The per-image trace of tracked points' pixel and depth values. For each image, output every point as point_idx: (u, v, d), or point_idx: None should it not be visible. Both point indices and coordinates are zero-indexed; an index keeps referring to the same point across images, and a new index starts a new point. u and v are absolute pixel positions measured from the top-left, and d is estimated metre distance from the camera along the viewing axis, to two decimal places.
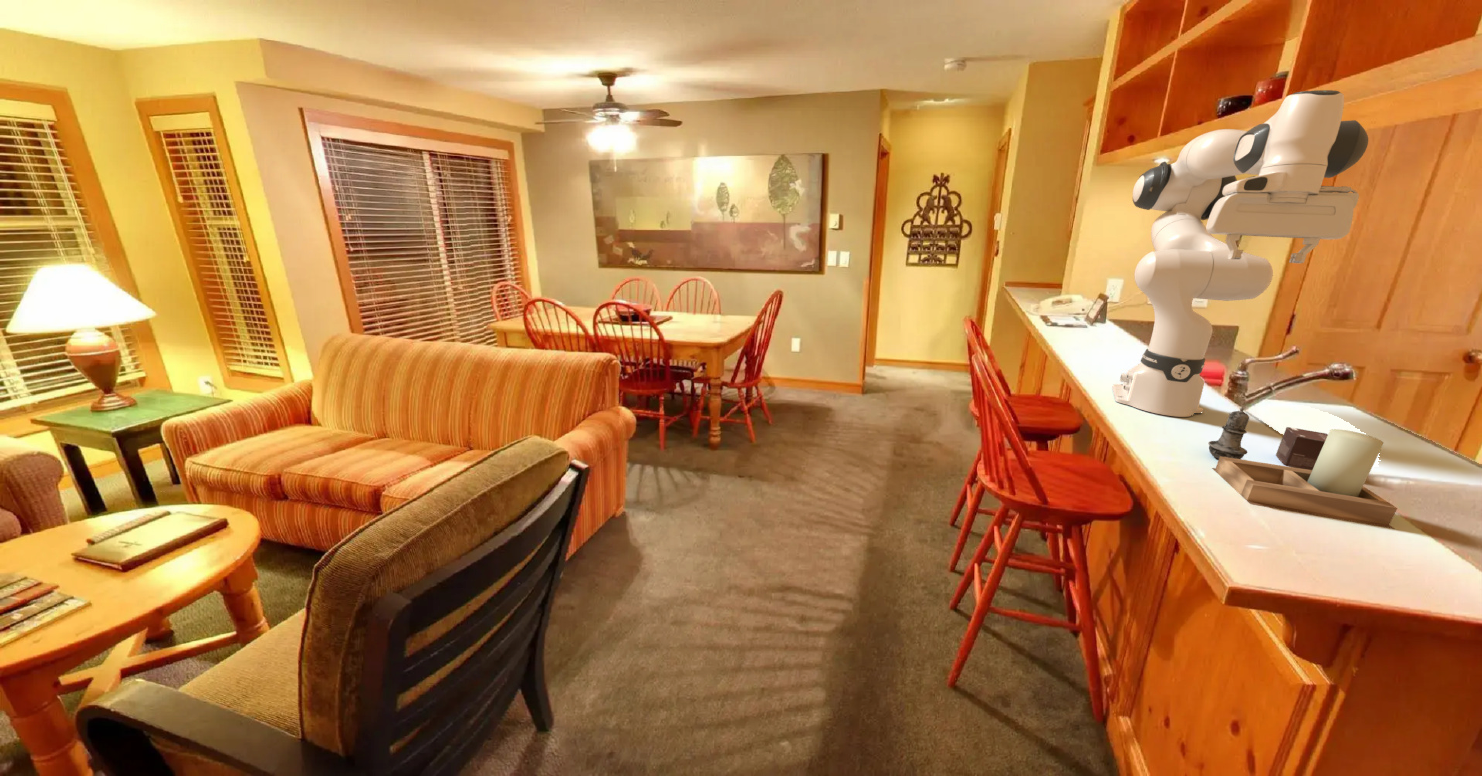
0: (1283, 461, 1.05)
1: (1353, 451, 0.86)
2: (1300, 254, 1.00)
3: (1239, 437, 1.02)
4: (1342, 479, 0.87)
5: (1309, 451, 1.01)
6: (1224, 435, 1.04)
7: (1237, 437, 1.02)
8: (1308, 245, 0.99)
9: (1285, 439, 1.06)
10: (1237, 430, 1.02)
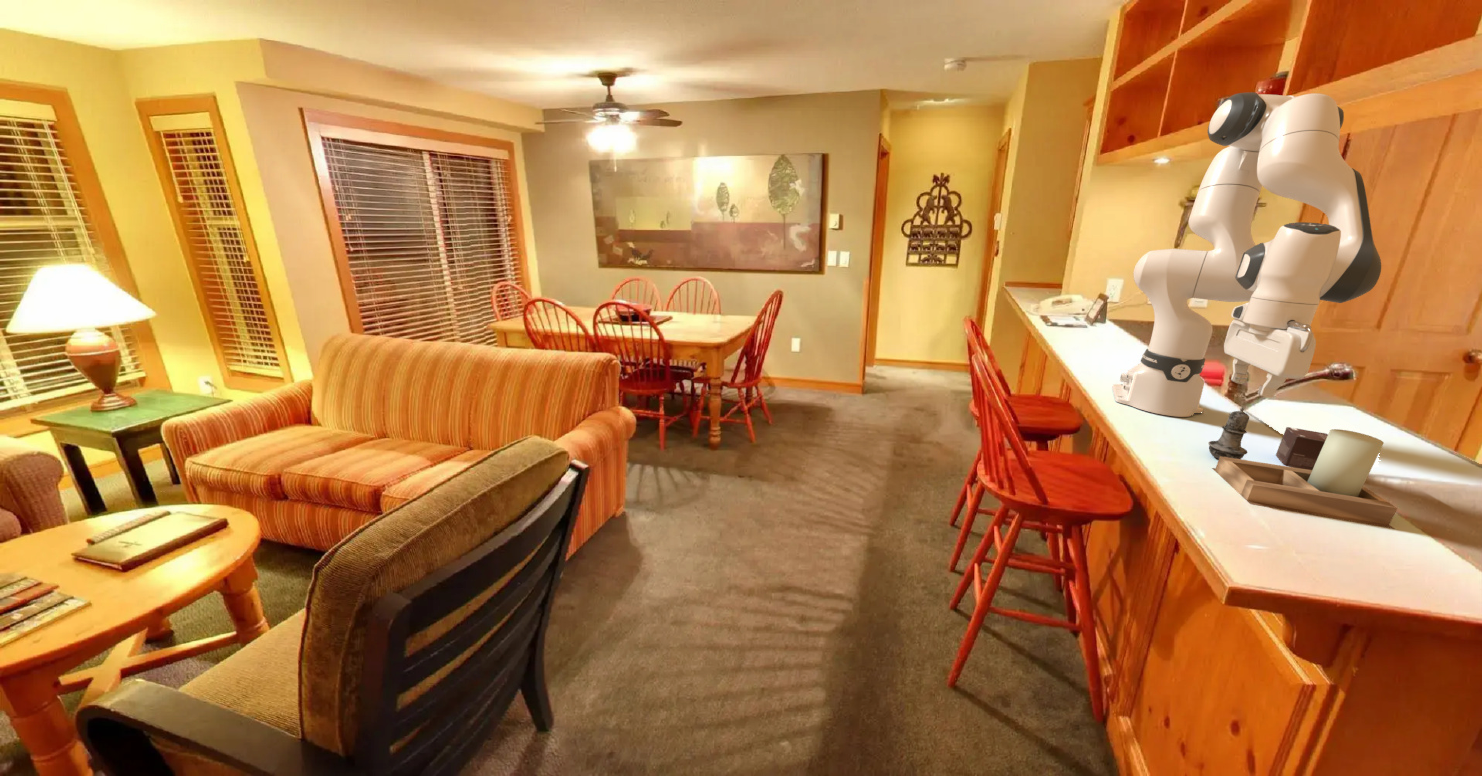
0: (1283, 461, 1.05)
1: (1353, 451, 0.86)
2: (1261, 387, 0.96)
3: (1239, 437, 1.02)
4: (1342, 479, 0.87)
5: (1309, 451, 1.01)
6: (1224, 435, 1.04)
7: (1237, 437, 1.02)
8: None
9: (1285, 439, 1.06)
10: (1237, 430, 1.02)
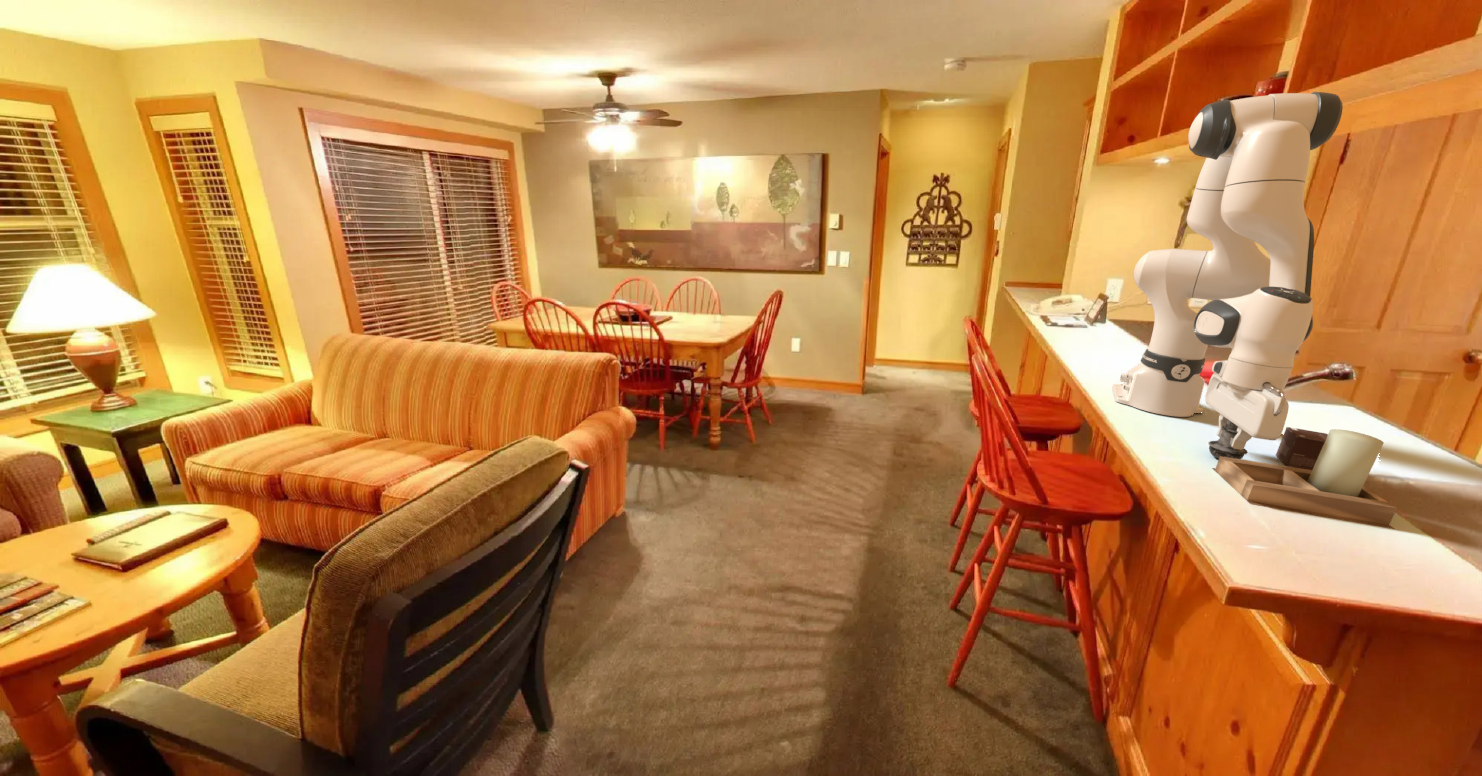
0: (1283, 461, 1.05)
1: (1353, 451, 0.86)
2: (1232, 439, 1.02)
3: None
4: (1342, 479, 0.87)
5: (1309, 451, 1.01)
6: (1224, 435, 1.04)
7: None
8: None
9: (1285, 439, 1.06)
10: None
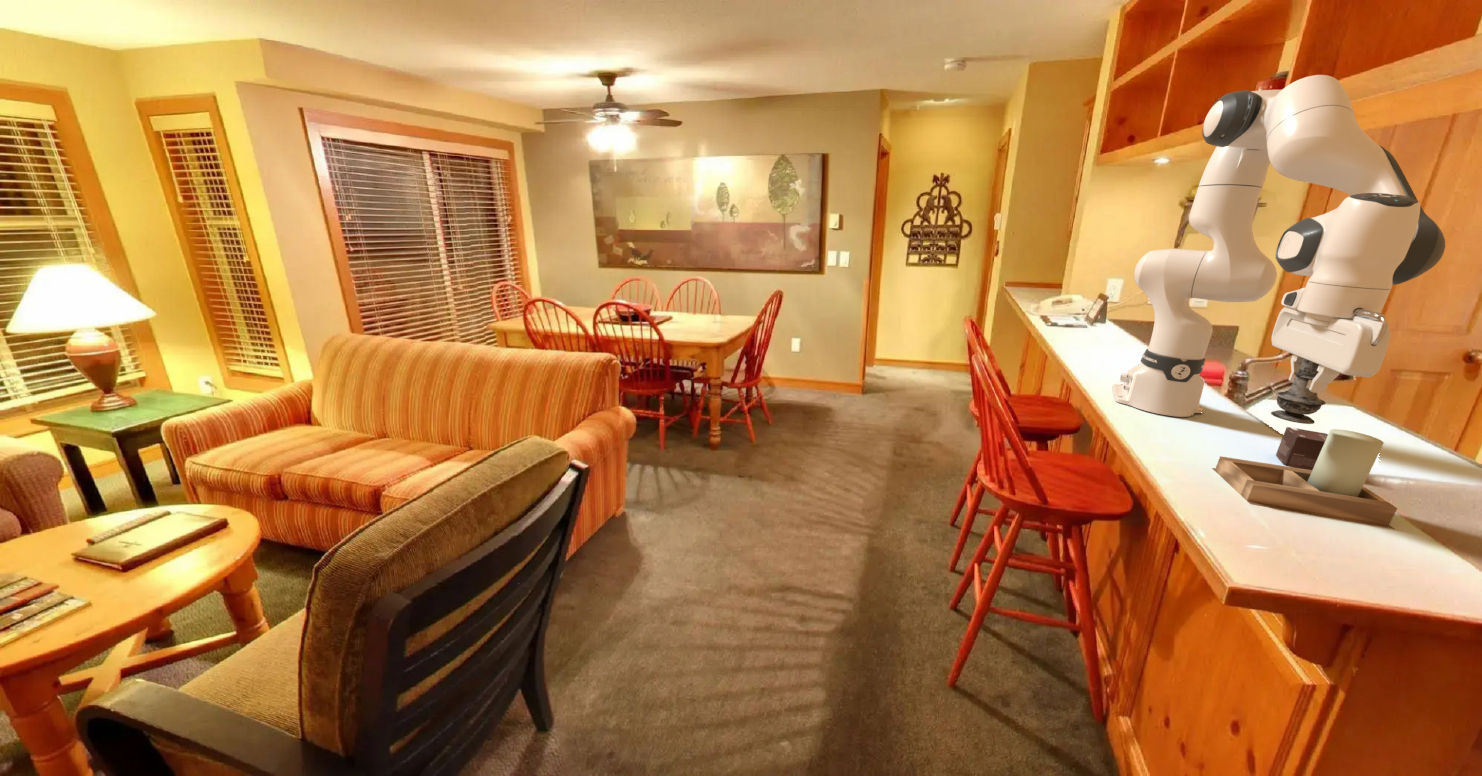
0: (1283, 461, 1.05)
1: (1353, 451, 0.86)
2: (1310, 381, 0.85)
3: None
4: (1342, 479, 0.87)
5: (1309, 451, 1.01)
6: (1297, 383, 0.87)
7: None
8: None
9: (1285, 439, 1.06)
10: (1314, 376, 0.85)
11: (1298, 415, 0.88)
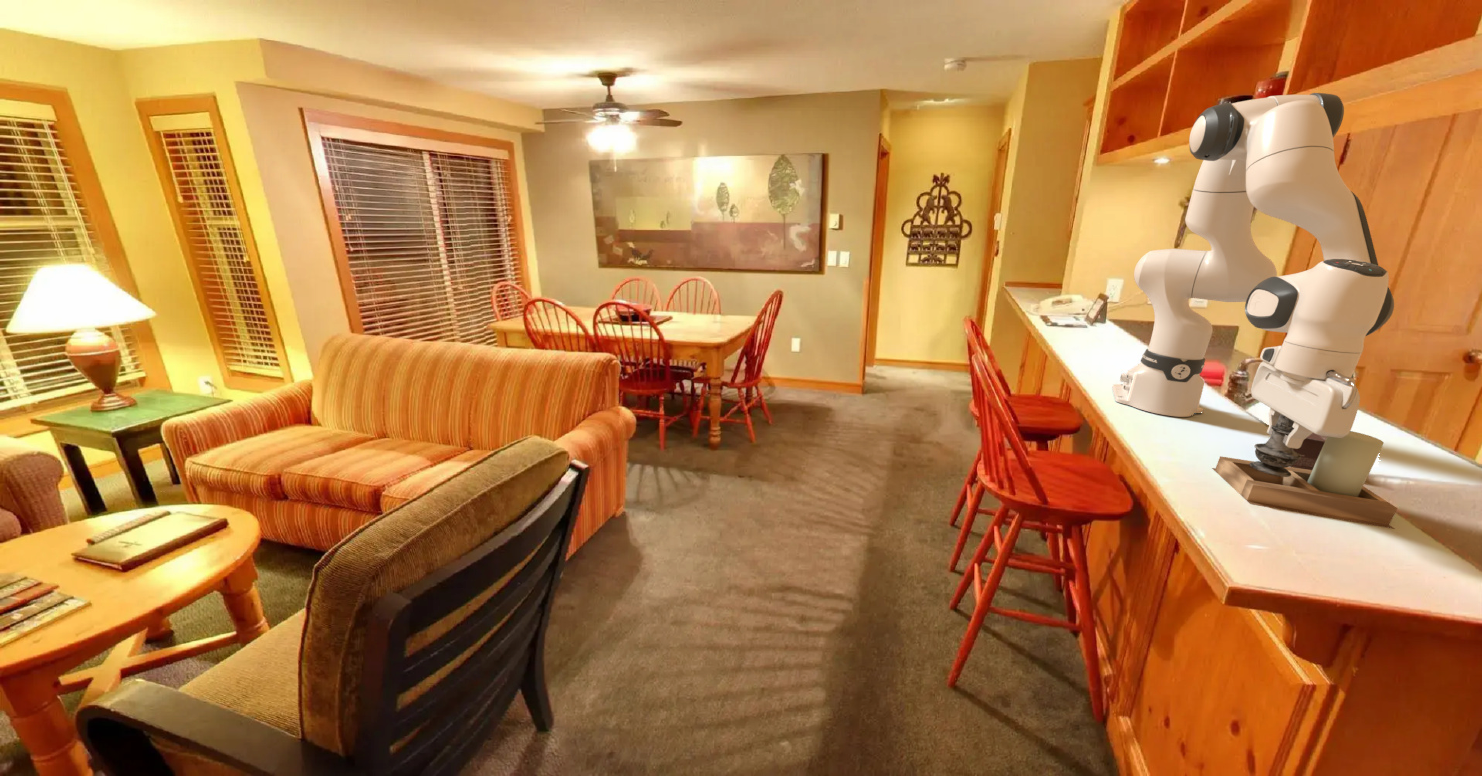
0: None
1: (1353, 451, 0.86)
2: (1286, 436, 0.88)
3: None
4: (1342, 479, 0.87)
5: (1309, 451, 1.01)
6: (1274, 437, 0.90)
7: None
8: None
9: None
10: (1290, 432, 0.89)
11: (1275, 467, 0.91)
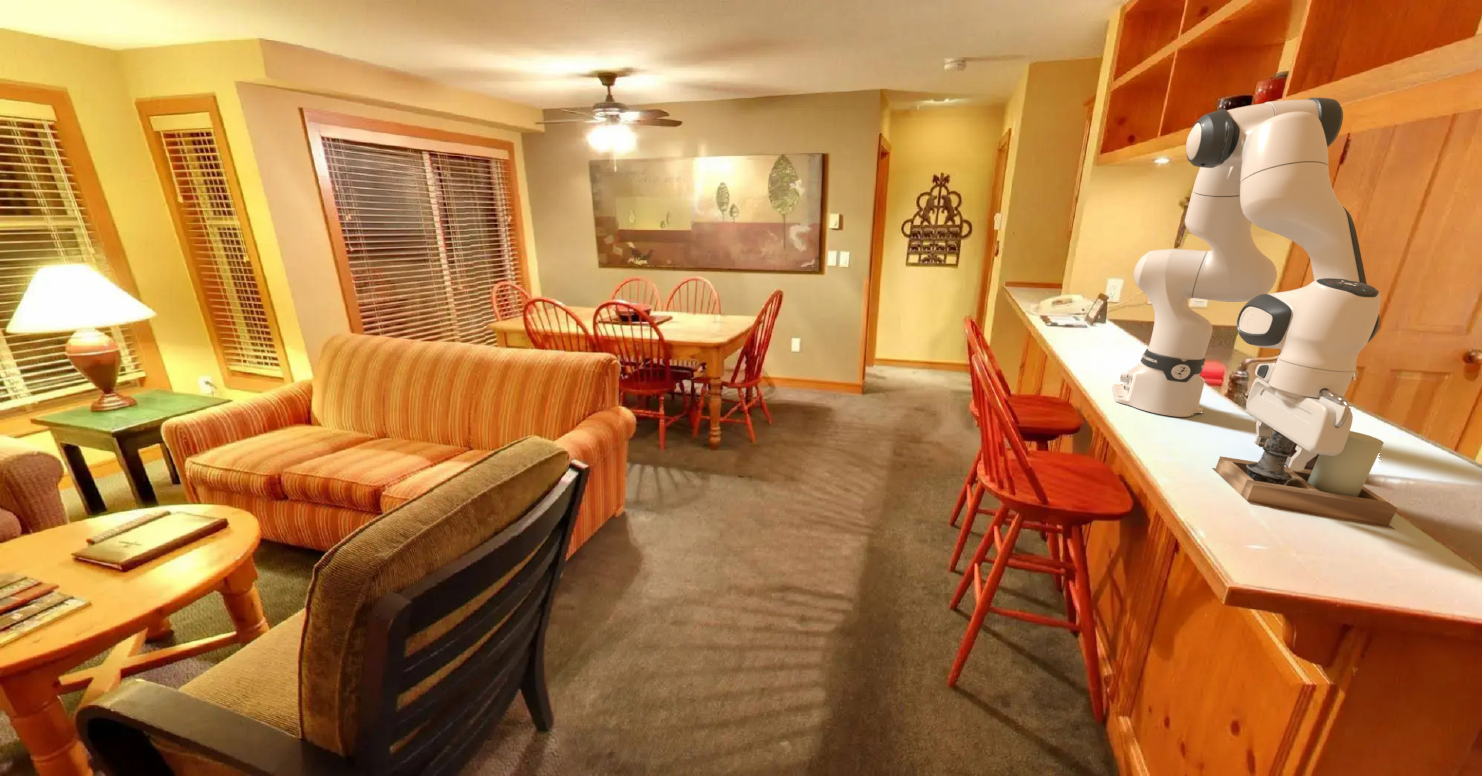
0: None
1: (1353, 451, 0.86)
2: (1289, 459, 0.87)
3: (1283, 460, 0.91)
4: (1342, 479, 0.87)
5: None
6: (1265, 457, 0.92)
7: (1280, 460, 0.91)
8: None
9: None
10: (1280, 453, 0.90)
11: None
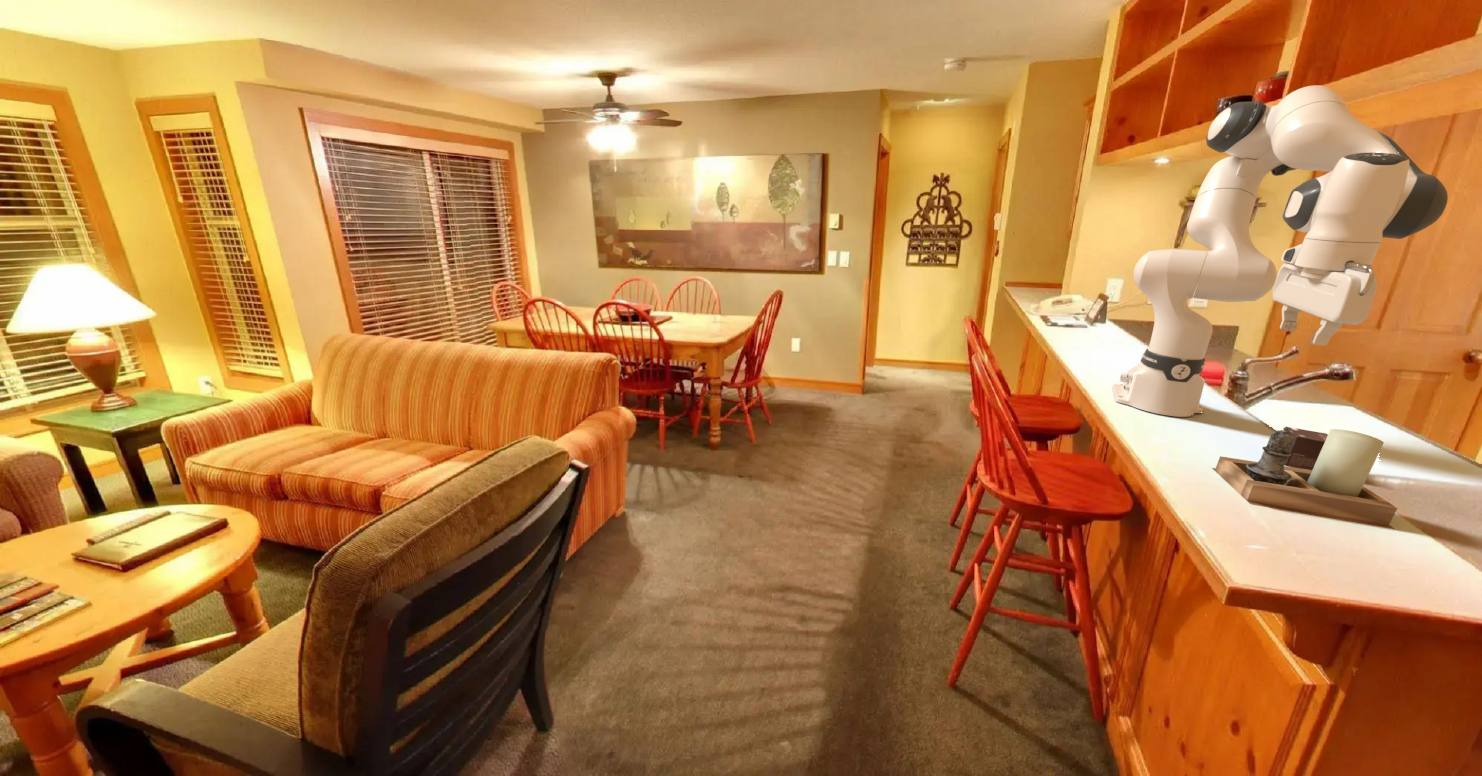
0: None
1: (1353, 451, 0.86)
2: (1313, 334, 0.90)
3: (1282, 460, 0.91)
4: (1342, 479, 0.87)
5: (1309, 451, 1.01)
6: (1265, 457, 0.92)
7: (1280, 460, 0.91)
8: None
9: None
10: (1280, 453, 0.90)
11: None
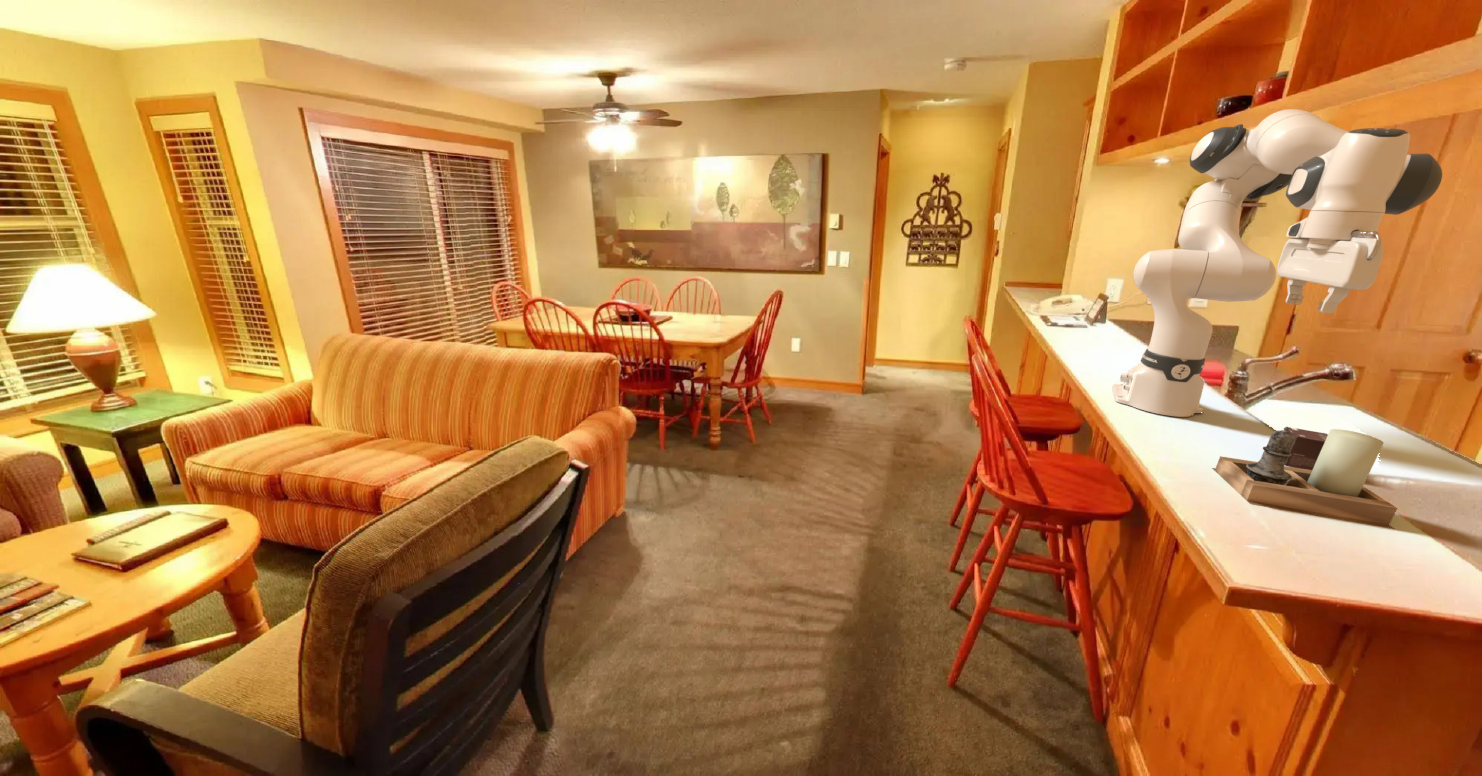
0: None
1: (1353, 451, 0.86)
2: (1321, 303, 0.93)
3: (1283, 460, 0.91)
4: (1342, 479, 0.87)
5: (1309, 451, 1.01)
6: (1265, 457, 0.92)
7: (1280, 460, 0.91)
8: None
9: None
10: (1280, 453, 0.90)
11: None
